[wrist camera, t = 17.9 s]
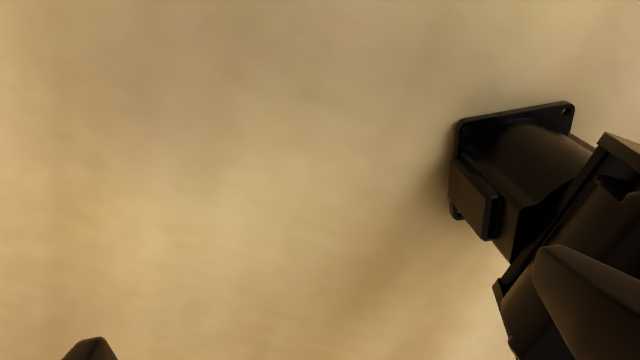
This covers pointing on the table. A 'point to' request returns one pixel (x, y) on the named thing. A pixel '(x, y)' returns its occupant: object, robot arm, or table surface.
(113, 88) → the table surface
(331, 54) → the table surface
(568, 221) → the robot arm
